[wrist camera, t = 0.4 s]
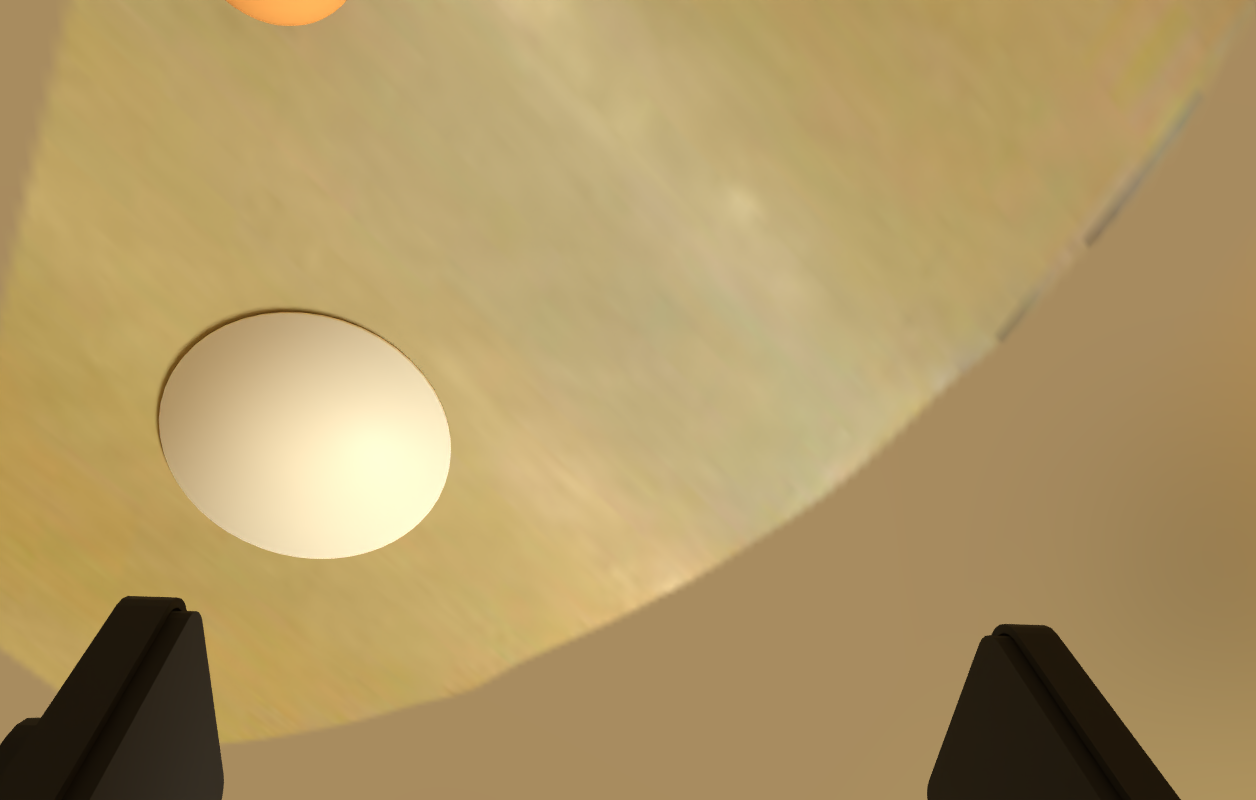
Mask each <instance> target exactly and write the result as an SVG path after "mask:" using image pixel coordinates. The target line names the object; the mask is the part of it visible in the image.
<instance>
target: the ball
mask: <svg viewBox="0 0 1256 800" xmlns="http://www.w3.org/2000/svg"><path fill="white" fill-rule="evenodd" d="M226 1H227V2H228V3H230V4H231V5H232V6H234V7H235V8H237V9H238V10H240V11H241V12H243V13H245V14H247V15H249V16H251V17H253V18H255V19H257V20H260V21H263V22H266V23H270V24H275V25H284V26H297V25H305V24H309V23H314V22H316V21H319V20H321V19H323V18H325V17H327V16H329V15H330V14H332V13H333V12H335V11H336V10H337V9H338V8H340V7H341V6H342V5H343V4H344V3H345V1H346V0H226Z"/></svg>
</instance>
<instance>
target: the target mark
mask: <svg viewBox="0 0 1256 800" xmlns="http://www.w3.org/2000/svg"><path fill="white" fill-rule="evenodd" d="M159 429H160V439H161V443H162V448H163V452H164V455H165V458H166V461H167V463H168V466H169V468H170V470H171V472H172V474H173V476H174V478H175V480H176V481H177V483H178V485H179V486H180V487H181V489H182V490H183V492H184V493H185V494H186V496H187V497H188V498H189V499H190V500H191V501H192V503H193V504H194V505H195V506H196V507H197V508H198V509H199V510H200V511H201V512H202V513H203V514H204V515H206V516H207V517H208V518H209V519H210V520H211V521H213V522H214V523H215V524H217V525H218V526H220V527H221V528H223V529H224V530H225V531H227V532H228V533H230V534H232V535H234V536H236V537H238V538H239V539H241V540H243V541H245V542H248V543H250V544H252V545H255V546H257V547H259V548H262V549H266V550H269V551H272V552H275V553H279V554H284V555H289V556H294V557H302V558H312V559H332V558H342V557H350V556H354V555H359V554H363V553H367V552H370V551H373V550H375V549H378V548H381V547H383V546H385V545H387V544H389V543H391V542H394V541H396V540H397V539H399V538H400V537H402V536H403V535H405V534H406V533H408V532H409V531H410V530H412V529H413V528H414V527H415V526H416V525H417V524H418V523H420V522H421V521H422V519H423V518H424V517H425V516H426V515H427V514H428V513H429V512H430V510H431V509H432V507H433V506H434V504H435V503H436V501H437V500H438V498H439V496H440V494H441V491H442V489H443V487H444V485H445V482H446V478H447V474H448V471H449V466H450V457H451V439H450V432H449V426H448V421H447V418H446V415H445V412H444V409H443V407H442V404H441V402H440V400H439V398H438V396H437V394H436V392H435V390H434V389H433V387H432V386H431V384H430V383H429V382H428V380H427V379H426V377H425V376H424V374H423V373H422V372H421V371H420V370H419V369H418V368H417V367H416V366H415V364H414V363H413V362H412V361H411V360H410V359H409V358H407V357H406V356H405V355H404V354H403V353H402V352H400V351H399V350H398V349H397V348H396V347H394V346H393V345H391V344H390V343H388V342H387V341H385V340H384V339H382V338H381V337H379V336H377V335H375V334H373V333H372V332H370V331H368V330H366V329H364V328H362V327H359V326H357V325H354V324H351V323H349V322H346V321H344V320H340V319H336V318H332V317H328V316H324V315H318V314H311V313H304V312H276V313H266V314H260V315H256V316H251V317H247V318H243V319H240V320H238V321H235V322H232V323H230V324H227V325H225V326H223V327H221V328H219V329H217V330H215V331H214V332H212V333H210V334H209V335H207V336H206V337H205V338H203V339H202V340H201V341H199V342H198V343H197V344H195V345H194V346H193V347H192V348H191V349H190V351H189V352H188V353H187V354H186V355H185V356H184V357H183V358H182V359H181V360H180V362H179V363H178V365H177V366H176V368H175V369H174V370H173V372H172V374H171V376H170V378H169V380H168V382H167V384H166V387H165V389H164V393H163V397H162V400H161V405H160V414H159Z"/></svg>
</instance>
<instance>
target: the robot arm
mask: <svg viewBox="0 0 1256 800" xmlns="http://www.w3.org/2000/svg"><path fill="white" fill-rule="evenodd" d="M223 785H224V776H223V768H222V760H221V753H220V746H219V738H218V731H217V724H216V717H215V709H214V702H213V695H212V688H211V680H210V673H209V666H208V659H207V651H206V644H205V637H204V630H203V623H202V618H201V615H200V613H199V612H196V611H187V610H186V606H185V603H184V601H183V600H182V599H180V598H172V597H140V596H127V597H125V598H123V599H121V601H120V602H119V603H118V604H117V605H116V607H115V608H114V610H113V611H112V613H111V614H110V616H109V617H108V619H107V620H106V622H105V623H104V625H103V626H102V628H101V629H100V631H99V632H98V634H97V635H96V637H95V638H94V640H93V641H92V643H91V644H90V646H89V647H88V649H87V650H86V652H85V653H84V654H83V656H82V657H81V659H80V660H79V662H78V663H77V665H76V666H75V668H74V669H73V671H72V672H71V674H70V675H69V677H68V678H67V680H66V681H65V683H64V684H63V686H62V687H61V689H60V690H59V692H58V693H57V695H56V696H55V698H54V699H53V701H52V702H51V704H50V705H49V707H48V708H47V710H46V711H45V713H44V714H43V716H42V717H41V718H27V719H25V720H23V721H22V722H20V723H19V724H17V725H16V726H15V727H14V728H13V729H12V731H11V732H10V733H9V734H8V735H7V736H6V738H5V739H4V740H3V742H2V743H1V745H0V800H221V799H222V794H223ZM927 798H928V800H1181V799H1180V798H1179V797H1178V795H1177V794H1176V793H1175V791H1174V790H1173V789H1172V787H1171V786H1170V785H1169V784H1168V782H1167V781H1166V779H1165V778H1164V777H1163V775H1162V774H1161V773H1160V771H1159V770H1158V769H1157V767H1156V766H1155V765H1154V763H1153V762H1152V761H1151V759H1150V758H1149V757H1148V755H1147V754H1146V753H1145V751H1144V750H1143V749H1142V747H1141V746H1140V745H1139V743H1138V742H1137V741H1136V739H1135V738H1134V737H1133V735H1132V734H1131V733H1130V731H1129V730H1128V728H1127V727H1126V726H1125V725H1124V723H1123V722H1122V721H1121V719H1120V718H1119V716H1118V715H1117V714H1116V712H1115V711H1114V710H1113V708H1112V707H1111V706H1110V704H1109V703H1108V702H1107V700H1106V699H1105V698H1104V696H1103V695H1102V694H1101V692H1100V691H1099V690H1098V689H1097V687H1096V686H1095V684H1094V683H1093V682H1092V680H1091V679H1090V678H1089V676H1088V675H1087V674H1086V672H1085V671H1084V670H1083V668H1082V667H1081V666H1080V664H1079V663H1078V662H1077V660H1076V659H1075V658H1074V656H1073V655H1072V653H1071V652H1070V651H1069V650H1068V648H1067V647H1066V646H1065V644H1064V643H1063V642H1062V640H1061V639H1060V637H1059V636H1058V635H1057V634H1056V633H1055V632H1054V631H1053V630H1052V629H1051V628H1049V627H1047V626H1045V625H1017V624H1016V625H1015V624H1002V625H999V626H998V627H996V628H995V629H994V631H993V633H992V635H989V636H985V637H984V638H982V640H981V642H980V644H979V646H978V649H977V652H976V654H975V657H974V660H973V662H972V665H971V668H970V671H969V673H968V676H967V679H966V682H965V684H964V687H963V690H962V692H961V695H960V698H959V701H958V704H957V706H956V709H955V712H954V714H953V717H952V720H951V723H950V725H949V728H948V731H947V734H946V736H945V739H944V741H943V744H942V747H941V750H940V752H939V755H938V758H937V760H936V763H935V766H934V769H933V771H932V774H931V777H930V780H929V784H928V789H927Z"/></svg>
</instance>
